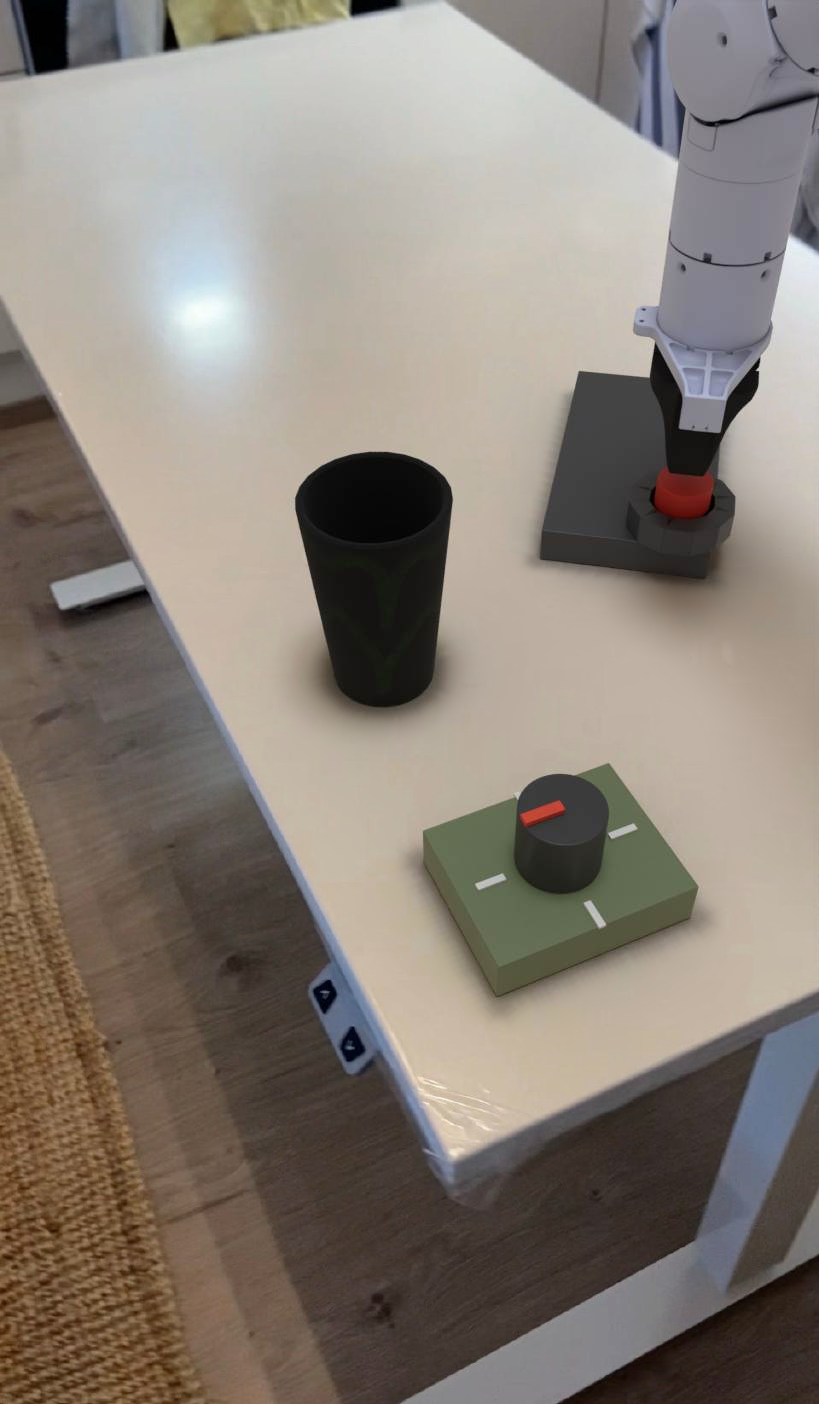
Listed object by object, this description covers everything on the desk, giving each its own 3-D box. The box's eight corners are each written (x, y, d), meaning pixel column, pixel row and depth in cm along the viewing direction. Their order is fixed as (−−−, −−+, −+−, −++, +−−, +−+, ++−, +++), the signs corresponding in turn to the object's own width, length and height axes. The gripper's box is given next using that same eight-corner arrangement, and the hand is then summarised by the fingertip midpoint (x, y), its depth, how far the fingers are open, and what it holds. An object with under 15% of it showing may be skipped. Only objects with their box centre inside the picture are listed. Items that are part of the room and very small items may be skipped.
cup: (396, 742, 63) (386, 568, 54) (287, 681, 66) (261, 508, 57) (479, 659, 67) (483, 484, 58) (373, 605, 70) (361, 432, 61)
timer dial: (575, 811, 56) (582, 757, 53) (618, 875, 54) (627, 822, 51) (499, 839, 55) (501, 785, 52) (538, 906, 53) (543, 853, 50)
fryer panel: (603, 792, 60) (608, 758, 58) (692, 919, 55) (701, 886, 53) (422, 860, 58) (421, 826, 56) (497, 999, 52) (499, 967, 50)
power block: (576, 397, 85) (580, 347, 82) (733, 413, 83) (743, 362, 80) (537, 567, 72) (541, 515, 69) (721, 590, 70) (733, 537, 67)
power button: (656, 485, 72) (659, 460, 70) (710, 490, 71) (715, 466, 70) (651, 517, 69) (655, 493, 68) (707, 523, 69) (712, 499, 68)
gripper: (656, 171, 64) (628, 392, 74) (631, 305, 54) (603, 538, 64) (791, 180, 63) (745, 403, 73) (790, 319, 53) (736, 554, 63)
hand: (686, 468), depth 68 cm, fingers closed
